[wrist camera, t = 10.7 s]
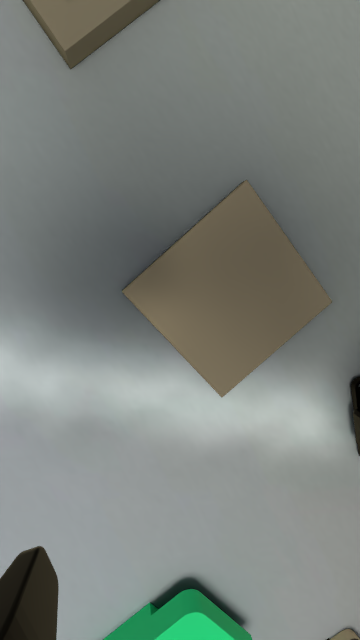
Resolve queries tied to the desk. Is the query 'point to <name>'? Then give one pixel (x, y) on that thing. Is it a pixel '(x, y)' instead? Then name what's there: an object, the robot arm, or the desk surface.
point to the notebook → (345, 635)
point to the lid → (229, 290)
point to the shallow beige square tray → (84, 23)
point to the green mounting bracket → (181, 621)
